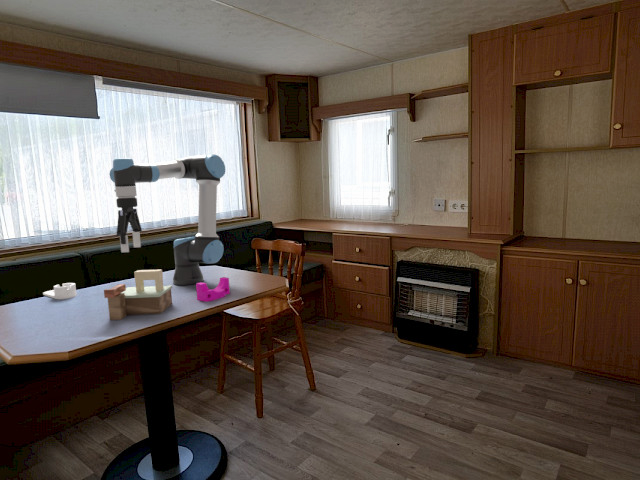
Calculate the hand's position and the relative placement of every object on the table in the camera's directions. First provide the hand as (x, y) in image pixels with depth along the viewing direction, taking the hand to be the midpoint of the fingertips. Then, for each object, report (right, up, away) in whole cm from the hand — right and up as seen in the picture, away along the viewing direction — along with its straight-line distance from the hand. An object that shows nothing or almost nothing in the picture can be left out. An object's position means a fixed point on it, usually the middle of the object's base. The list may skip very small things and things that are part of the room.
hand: (131, 249), depth 173 cm
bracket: (-47, -24, +29) cm, 60 cm away
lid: (+4, -18, +1) cm, 18 cm away
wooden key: (-2, -17, -9) cm, 19 cm away
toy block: (+30, -22, +18) cm, 41 cm away
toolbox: (+5, -25, -1) cm, 26 cm away
